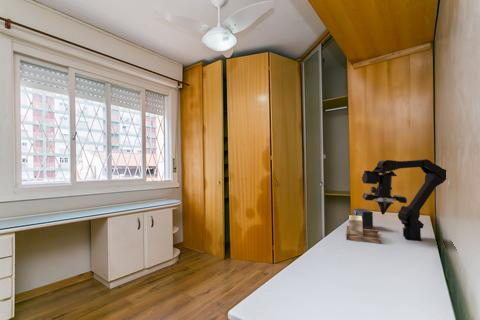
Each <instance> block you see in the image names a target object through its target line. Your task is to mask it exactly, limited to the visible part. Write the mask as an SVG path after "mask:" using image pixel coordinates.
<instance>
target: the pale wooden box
mask: <svg viewBox="0 0 480 320" xmlns="http://www.w3.org/2000/svg"><path fill="white" fill-rule="evenodd" d="M348 217H349V218H348V224H349V225H348V226H349V231H350V233H349V234H350V236H360V237H363V227H362V224H363V223H362V216H354V214H353V215H352V214H351V215H348Z"/></svg>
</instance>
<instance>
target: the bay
mask: <svg viewBox="0 0 480 320" xmlns="http://www.w3.org/2000/svg"><path fill="white" fill-rule="evenodd" d="M378 231H379V230H378V229H373V230H369V229H363V237H360V236H350V234H349V233H350V231H349V225H346V232H345V233H346V235H345V237H346V240H347V241H352V242H353V241H354V242H355V241H356V242H362V243H371V244H382V239H381V238H380V236H379V232H378Z"/></svg>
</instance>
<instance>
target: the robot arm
mask: <svg viewBox="0 0 480 320" xmlns="http://www.w3.org/2000/svg"><path fill="white" fill-rule="evenodd" d="M410 168H411V169H413V168H420V169H421V171H422V172H423V173H424V174H425V176H424V183H423V184H422V186H421V187H420V188H419V190H418V191H417V193H416V194H415V196H414V197H413V198H412V200H411V201H410V203H409V204H408V205H407V206H405V205H402V206H401V207H400V209H399V210H398V211H397V212H398V213H397V217H398V220H399V221H400V222H401V224H402V225H403V227H402V236H403V237H404V239H405V240H409V241H410V240H411V241H419V242H422V241H423V239H422V233H421V229H423V228H424V226H425V224H424V223H423V222H422V221H421V220H420V216H421V215H420V213H421V210H422V209H423V206H424V205H425V204H426V202H427V200H428V199H429V198H430V196H431V195H432V193H433V192H434V190H435V189H436V188H437V187H438V186H439V185H442V184H443V183H444V182H445V181H446V180H447V179H446V171H447V169H445V168H443V167H441V166H439V165H438V164H435V163H434V162H432V161H431V160H429V159H428V158H425V159H423V158H422V159H421V158H420V159H414V160H400V161H399V160H390V159H381V160H378V162H377V164H376V166H375V168H374V169H372V170H364V172H363V174H362V177H361V180H362V183H363V184H364V185H366V184H367V185H377V186H376V187H375V186H370V192H364V193H362V197H361V198H362V199H364V200H365V201H370V202H372V201H373V200H374V201H375V202H376V203H377V205H378V207H379V211H380V213H381V215H385V213H386V212H387V210H388V209H389V208H390V206H391V205H393V204H394V202H393V201H397V202H399V203H400V204H407V202H408V200H407V197H405V196H403V195H401V194H400V195H398V194H397V195H396V194H395V195H394V194H393V196H392V193H391V192H392V190H393V187H392V180H393V177H397V174H396V173H395V172H394V171H397V170H400V169H410Z"/></svg>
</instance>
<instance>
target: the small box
mask: <svg viewBox="0 0 480 320" xmlns="http://www.w3.org/2000/svg"><path fill="white" fill-rule="evenodd" d="M355 212H357V216H362V223H363V224H362V227H363V229H369V230H374V216H373V214H374V213H373V211H371V210H367V209H365V208H353V215H354V216H355Z"/></svg>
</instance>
